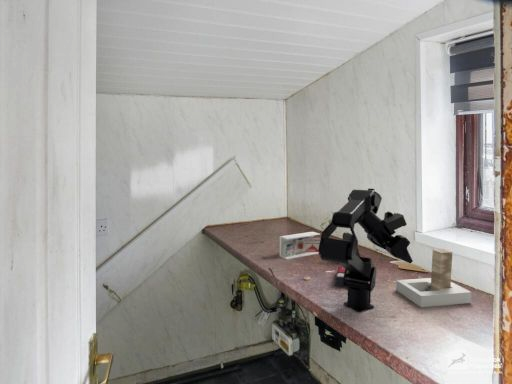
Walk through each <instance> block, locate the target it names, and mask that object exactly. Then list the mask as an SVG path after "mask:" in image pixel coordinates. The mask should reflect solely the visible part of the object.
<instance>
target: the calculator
mask: <svg viewBox="0 0 512 384" xmlns="http://www.w3.org/2000/svg"><path fill="white" fill-rule="evenodd" d="M344 272H345V268H344V267H342V266H341V265H340V264H339V266H338V268H337V271H336V275H335V287H337V288H347V289H348V287H346V286H343V277H344ZM350 280H353V281H358V282H364V283H369V284H370V282H367V281H362V280H356V279H351V278H350Z"/></svg>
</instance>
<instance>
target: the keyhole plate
mask: <svg viewBox="0 0 512 384" xmlns="http://www.w3.org/2000/svg"><path fill="white" fill-rule="evenodd" d="M395 284H396V285H395V291H396V292H397V293H399V294H401V295H402V296H404V297H405V298H406V299H408V300H410V301H411V302H412V303H414V304H415V305H417V306H418V307H419V308H426V307H428V308H429V307H439V306H440V307H441V306H451V305H452V306H453V305H463V304H471V303H472V291H470V290H468V289H466V288H465V287H463V286H460V285H459V284H456V283H454V282H453V281H451V286H450V288H442V289H440V290H438V291H426V289H431V277H422V278H413V279H412V278H411V279H408V278H407V279H398V280H396V283H395Z"/></svg>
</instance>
